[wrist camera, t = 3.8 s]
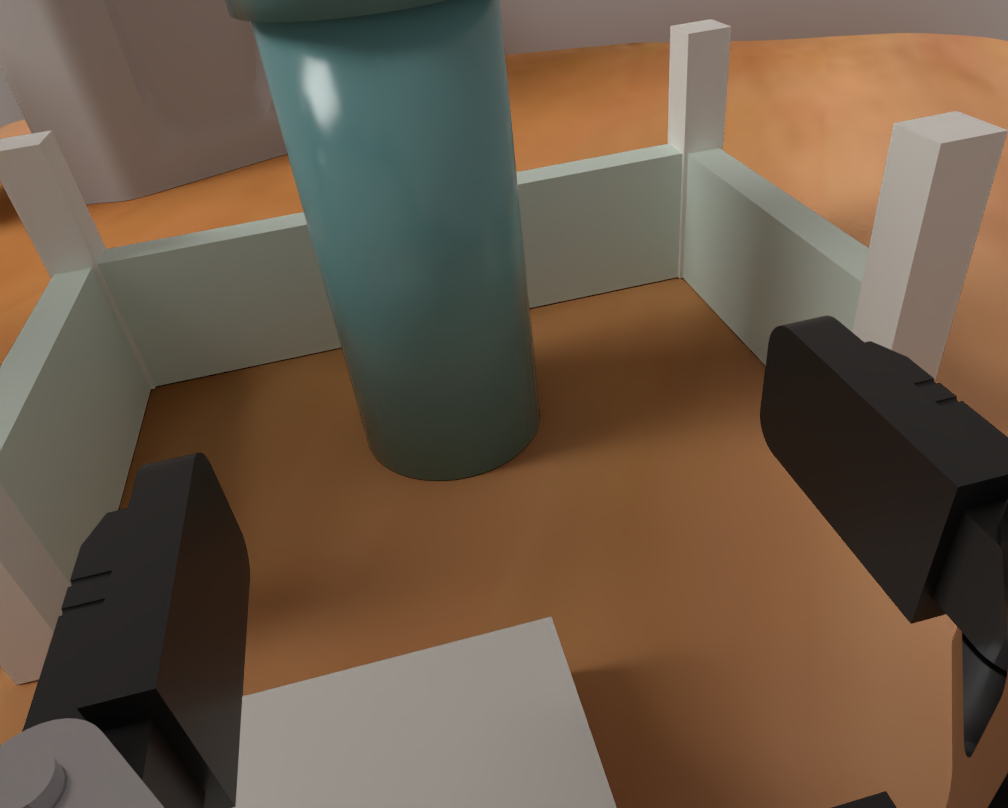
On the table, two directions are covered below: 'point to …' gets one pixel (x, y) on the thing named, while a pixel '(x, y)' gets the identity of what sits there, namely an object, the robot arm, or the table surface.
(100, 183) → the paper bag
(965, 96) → the table surface
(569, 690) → the stone tile
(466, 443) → the teal peg with ball
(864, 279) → the rectangular frame with posts
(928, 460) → the robot arm
